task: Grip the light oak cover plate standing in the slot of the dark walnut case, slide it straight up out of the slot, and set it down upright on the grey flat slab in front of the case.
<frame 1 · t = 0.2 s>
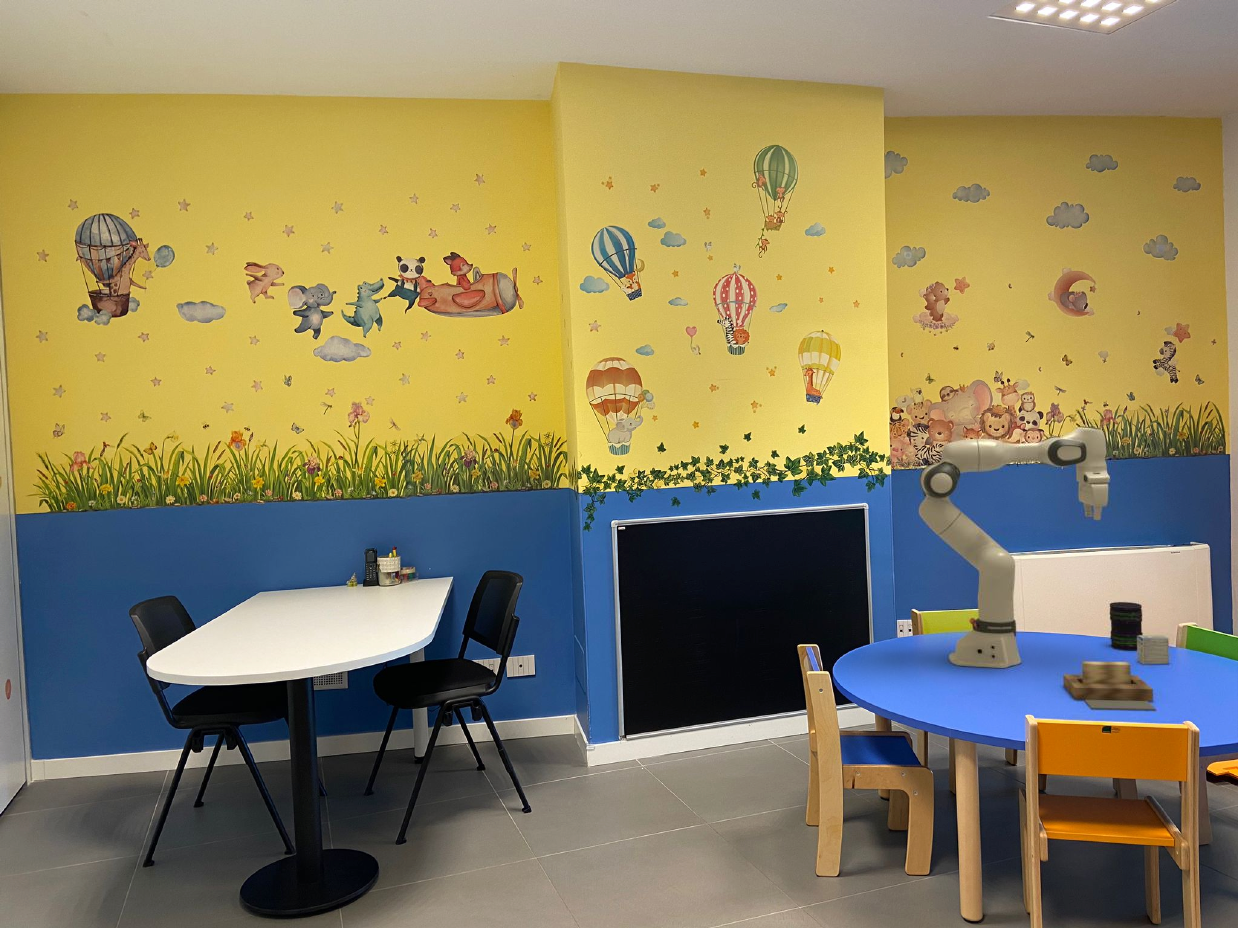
hand: (1093, 518, 289), 48 cm above the table, fingers open, 8 cm apart
oak cover plate: (1106, 678, 258), in the walnut case
black cylinder: (1127, 648, 307), on the table
medicine box: (1153, 663, 287), on the table
grey flat slab: (1119, 705, 247), on the table
walnut case: (1106, 693, 258), on the table
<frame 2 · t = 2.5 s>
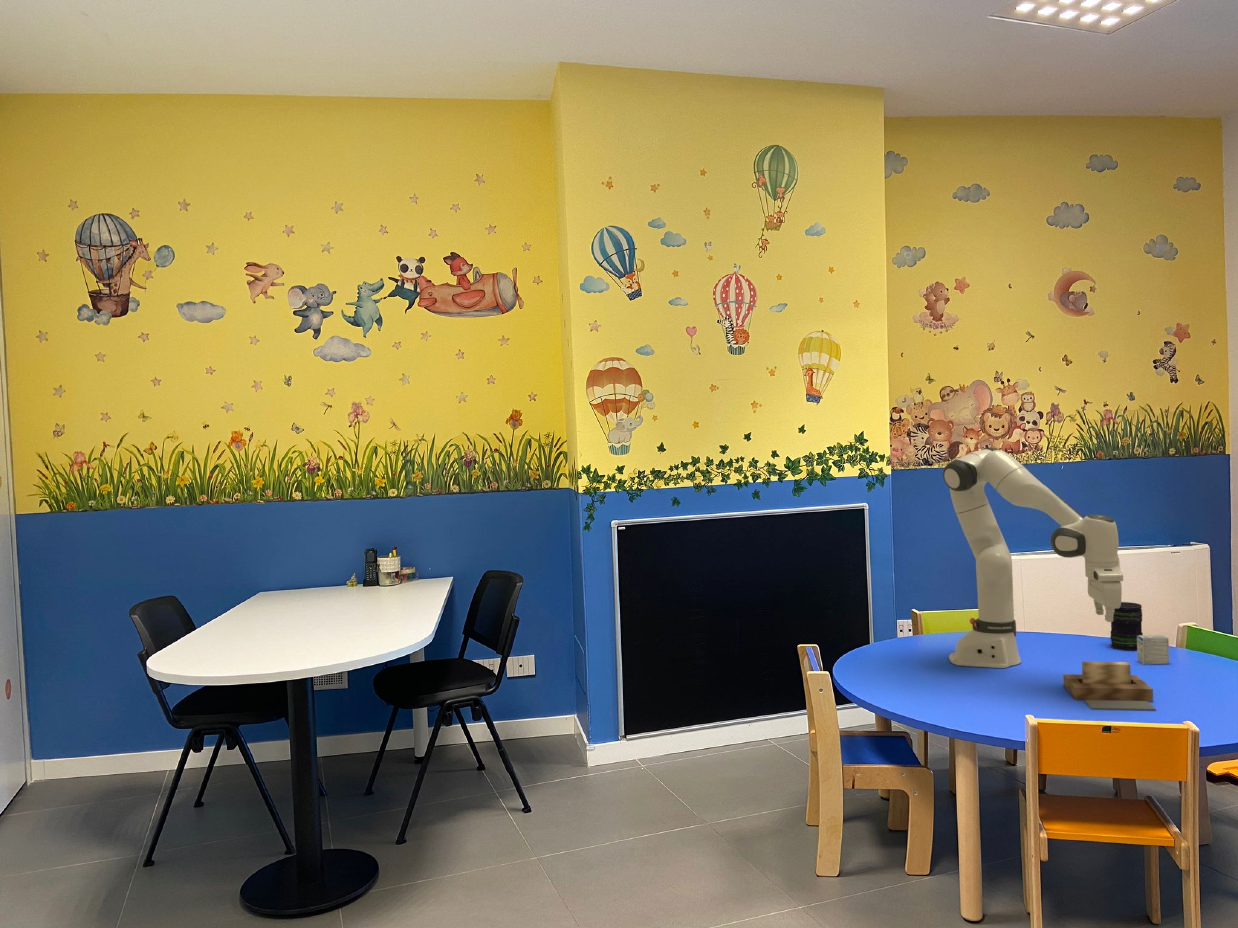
hand: (1104, 617, 258), 22 cm above the table, fingers open, 8 cm apart
nothing on the table moved.
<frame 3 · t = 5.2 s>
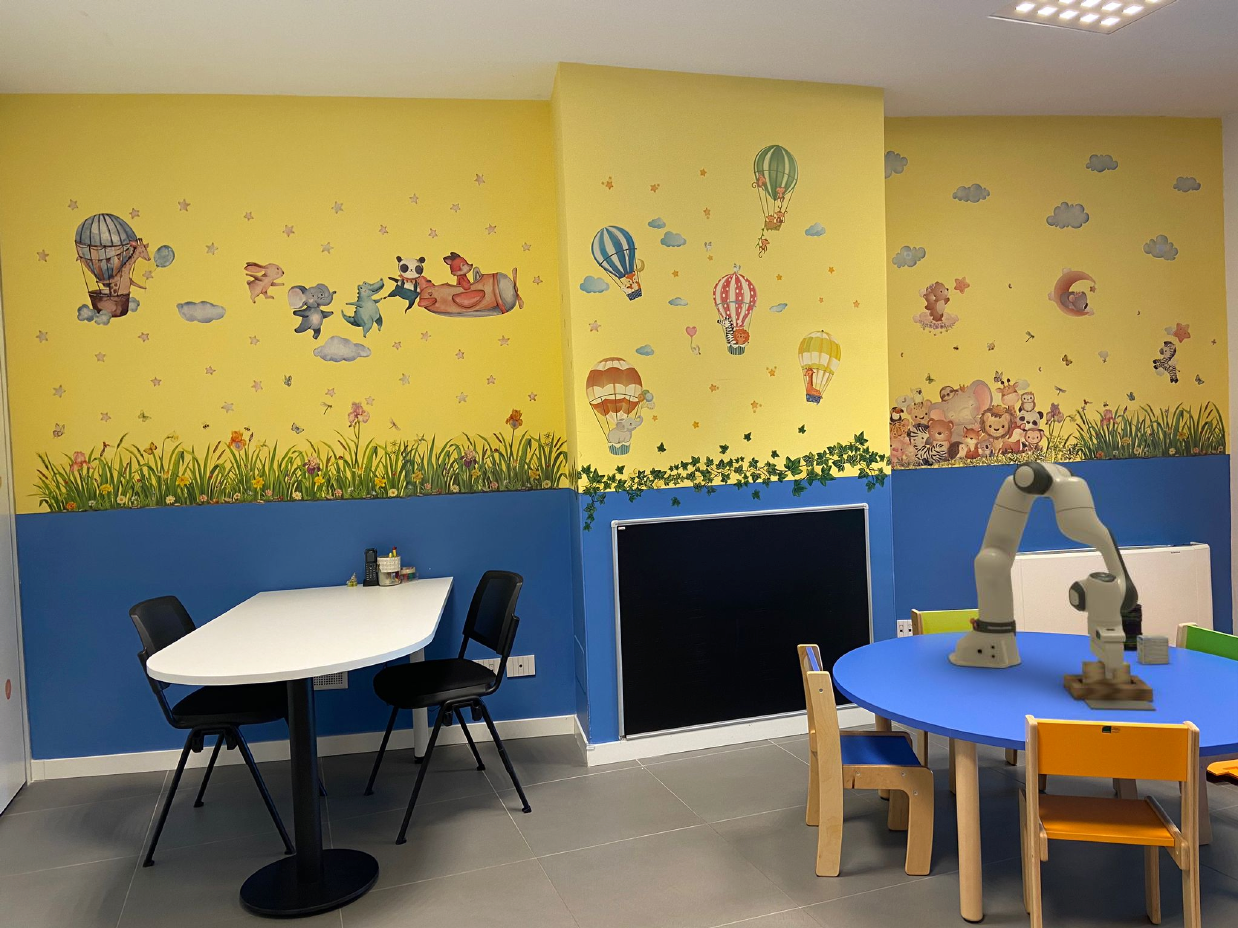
hand: (1106, 675, 258), 5 cm above the table, fingers closed on oak cover plate, 3 cm apart
oak cover plate: (1106, 678, 258), in the walnut case, touching gripper
everything else where it was.
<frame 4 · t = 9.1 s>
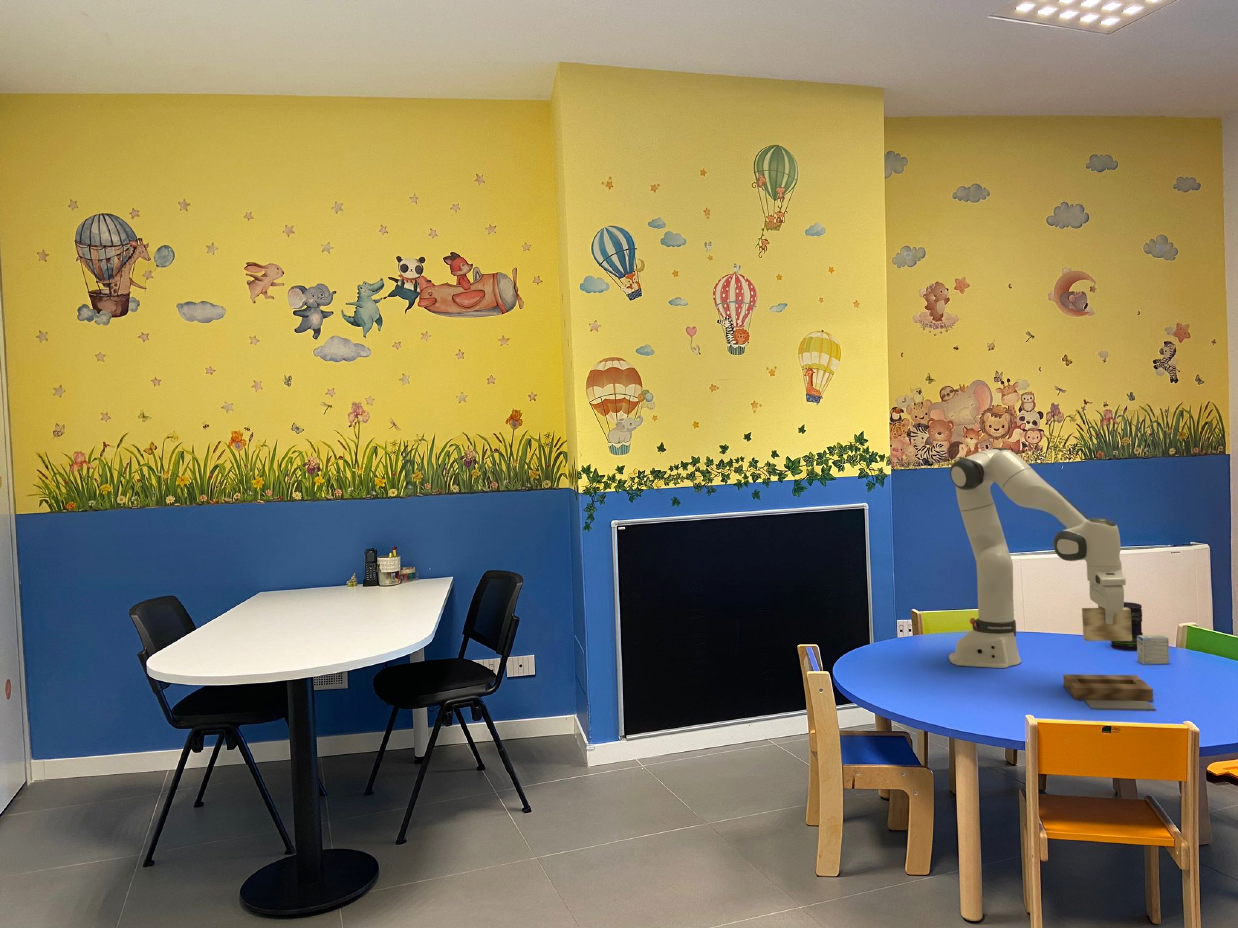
hand: (1106, 622, 256), 21 cm above the table, fingers closed on oak cover plate, 3 cm apart
oak cover plate: (1106, 624, 256), point 21 cm above the table, touching gripper
everything else where it was.
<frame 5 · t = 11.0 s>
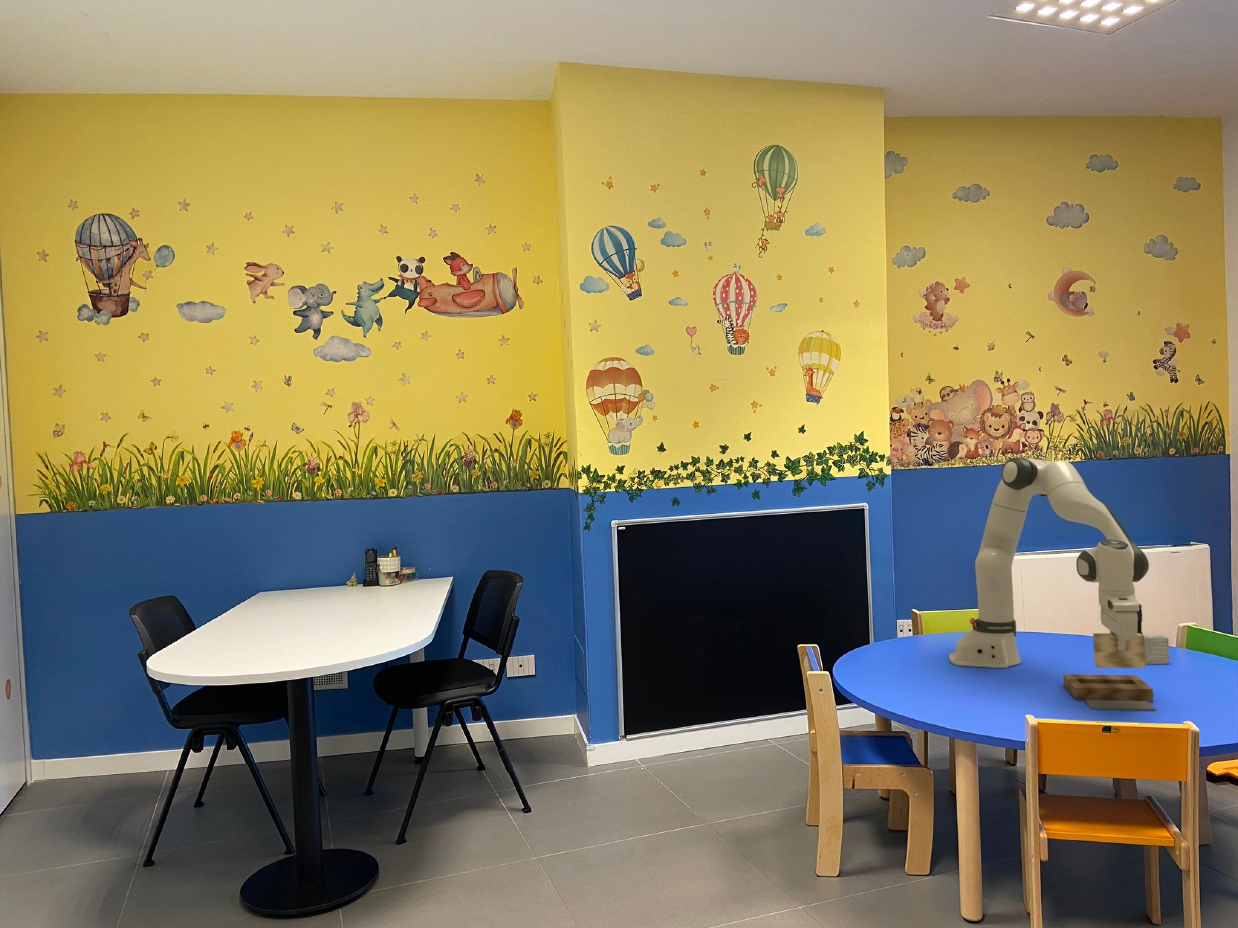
hand: (1118, 648, 246), 16 cm above the table, fingers closed on oak cover plate, 3 cm apart
oak cover plate: (1118, 650, 246), point 16 cm above the table, touching gripper
everything else where it was.
when the fingers open (7 cm above the table, at t = 12.9 s): oak cover plate stays where it is, resting on grey flat slab.
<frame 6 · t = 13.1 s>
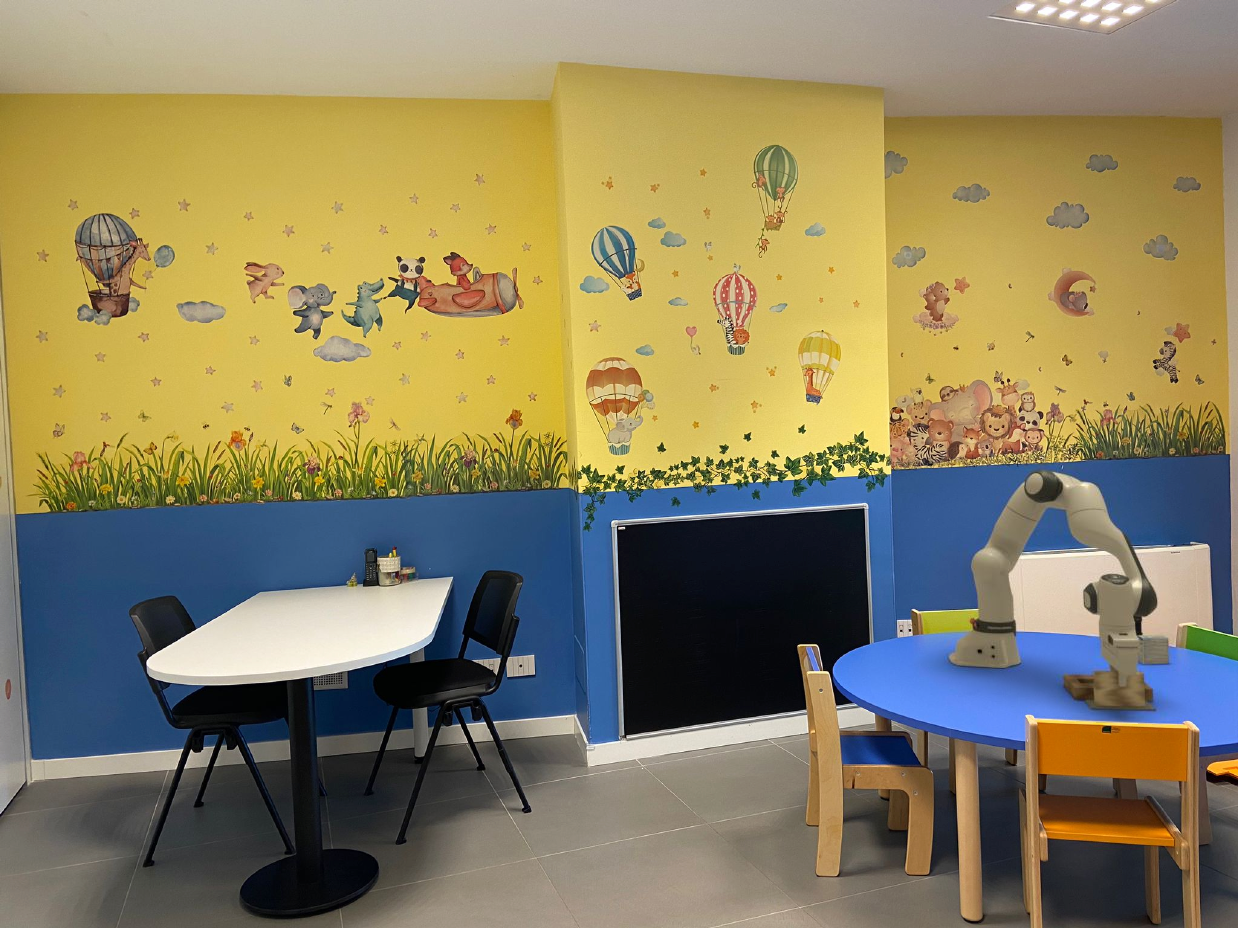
hand: (1118, 682, 247), 7 cm above the table, fingers open, 5 cm apart
oak cover plate: (1118, 688, 247), on the grey flat slab
everything else where it was.
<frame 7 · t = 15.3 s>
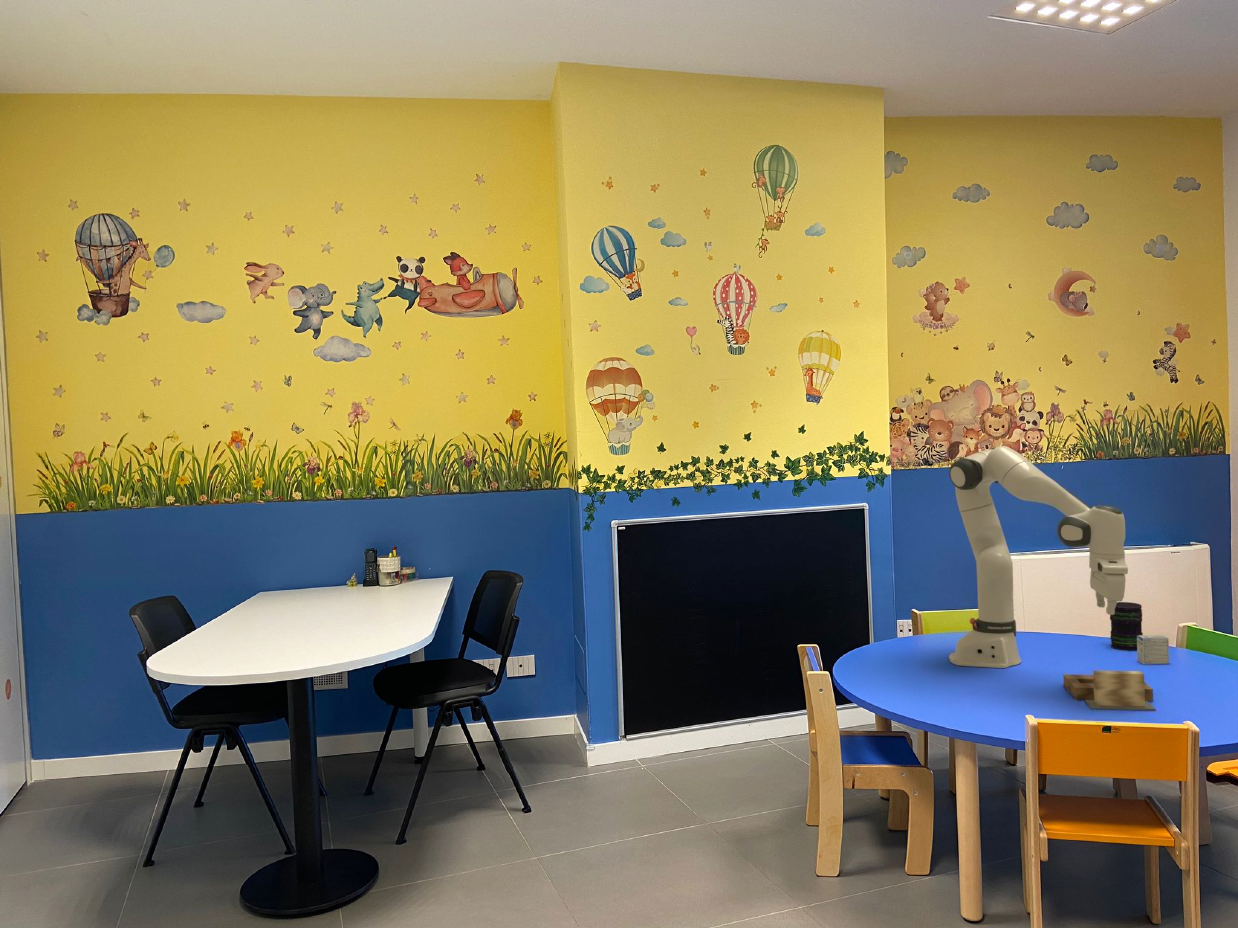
hand: (1105, 610, 254), 25 cm above the table, fingers open, 8 cm apart
nothing on the table moved.
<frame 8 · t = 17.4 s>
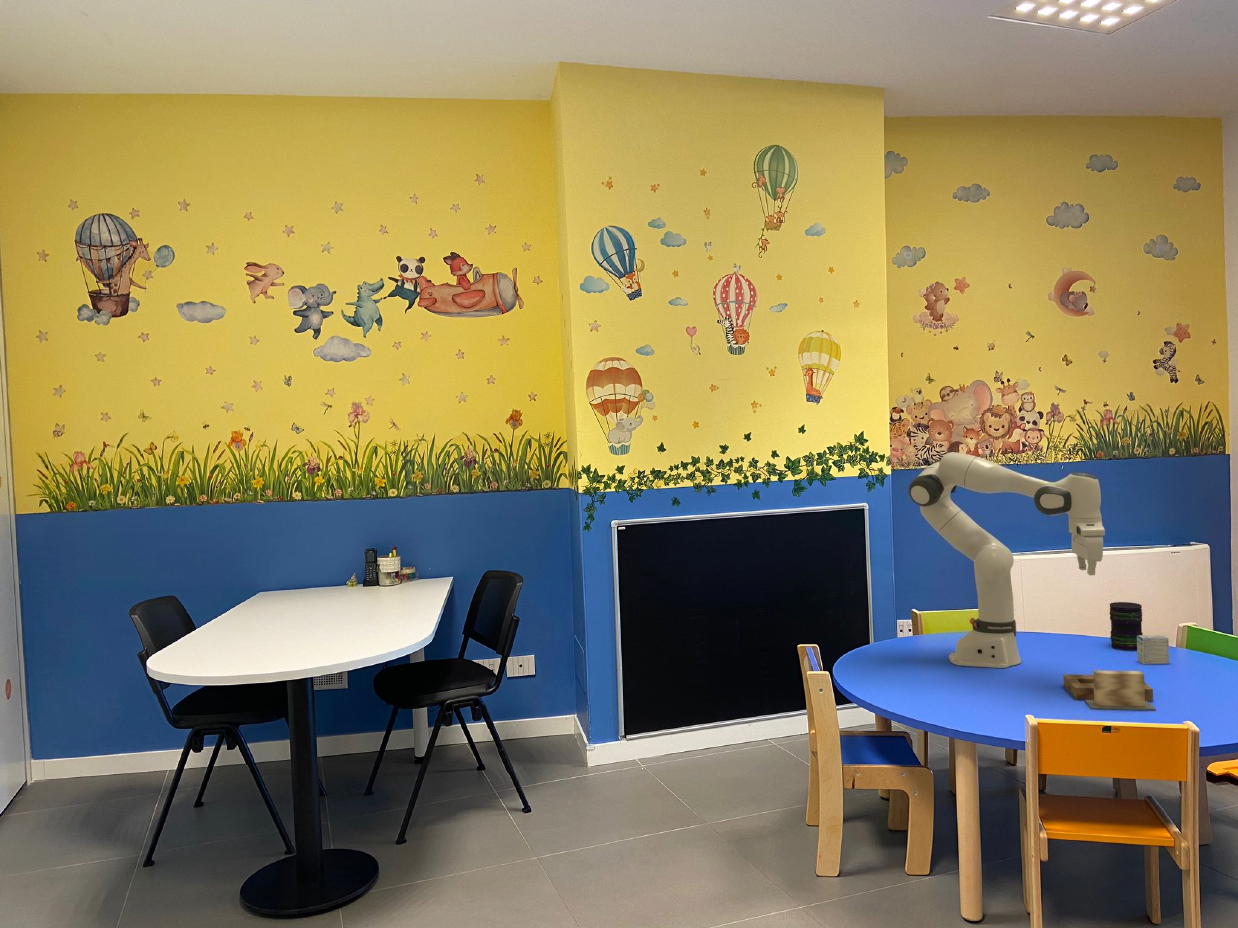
hand: (1086, 572, 266), 34 cm above the table, fingers open, 8 cm apart
nothing on the table moved.
at the end: oak cover plate inside the target area on the grey flat slab (0.1 cm from its centre), point 5.0 cm above the grey flat slab's base; oak cover plate tilted 0°; the gripper is holding nothing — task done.
